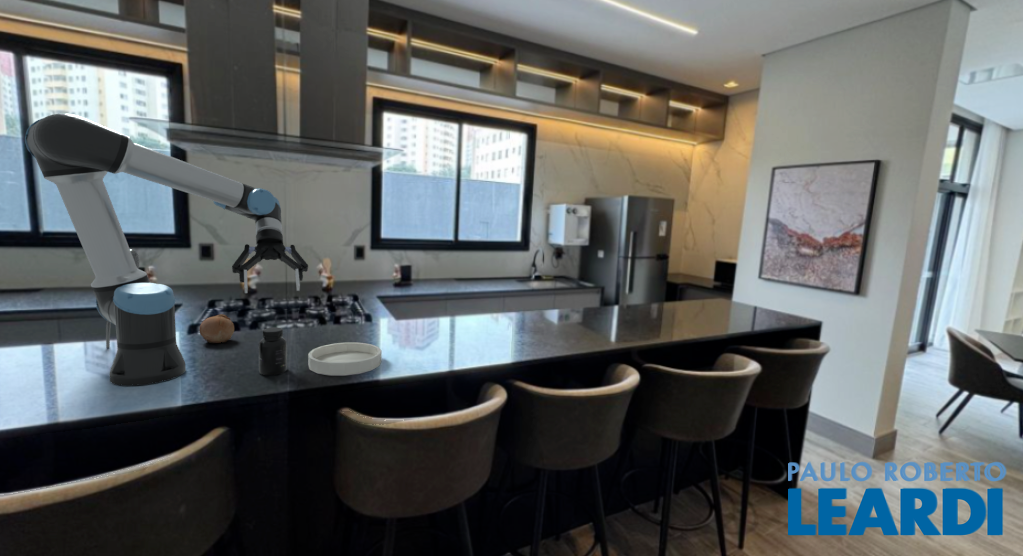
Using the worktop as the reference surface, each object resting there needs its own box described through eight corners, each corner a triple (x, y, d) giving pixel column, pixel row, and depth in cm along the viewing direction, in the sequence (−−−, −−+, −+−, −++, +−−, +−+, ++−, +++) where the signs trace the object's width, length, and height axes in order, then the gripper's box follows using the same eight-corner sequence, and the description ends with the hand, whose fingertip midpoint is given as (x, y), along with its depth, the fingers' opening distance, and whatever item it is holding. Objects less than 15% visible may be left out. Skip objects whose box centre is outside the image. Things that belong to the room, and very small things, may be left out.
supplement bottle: (253, 374, 118) (252, 330, 116) (272, 366, 124) (271, 325, 123) (274, 377, 116) (273, 333, 115) (292, 369, 123) (292, 328, 121)
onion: (224, 347, 147) (234, 318, 151) (232, 346, 141) (242, 316, 144) (192, 341, 141) (202, 311, 145) (198, 339, 135) (209, 308, 138)
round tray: (313, 379, 116) (313, 366, 116) (305, 357, 133) (305, 346, 133) (388, 370, 126) (388, 358, 126) (372, 350, 143) (372, 340, 143)
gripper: (311, 243, 148) (317, 294, 138) (223, 242, 136) (223, 298, 125) (312, 228, 143) (319, 280, 133) (222, 226, 130) (221, 283, 120)
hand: (272, 289), depth 129 cm, fingers open, 13 cm apart
